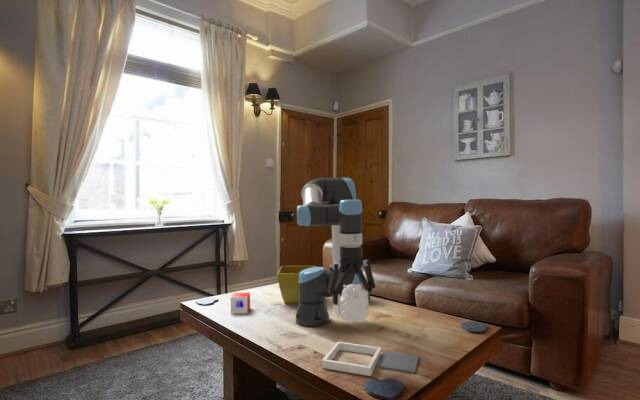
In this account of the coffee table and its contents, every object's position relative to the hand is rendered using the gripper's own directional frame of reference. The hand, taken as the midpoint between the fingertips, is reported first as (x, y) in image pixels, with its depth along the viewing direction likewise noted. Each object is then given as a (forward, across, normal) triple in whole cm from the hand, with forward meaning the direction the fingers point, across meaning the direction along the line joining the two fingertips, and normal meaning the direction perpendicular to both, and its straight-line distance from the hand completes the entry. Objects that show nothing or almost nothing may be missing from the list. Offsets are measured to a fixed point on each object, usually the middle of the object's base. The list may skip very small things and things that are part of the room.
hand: (351, 311), depth 122 cm
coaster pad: (+16, +13, -8) cm, 22 cm away
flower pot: (+18, +8, +75) cm, 78 cm away
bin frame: (+17, 0, -1) cm, 17 cm away
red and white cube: (+18, -24, +71) cm, 77 cm away
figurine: (+3, 0, 0) cm, 3 cm away
